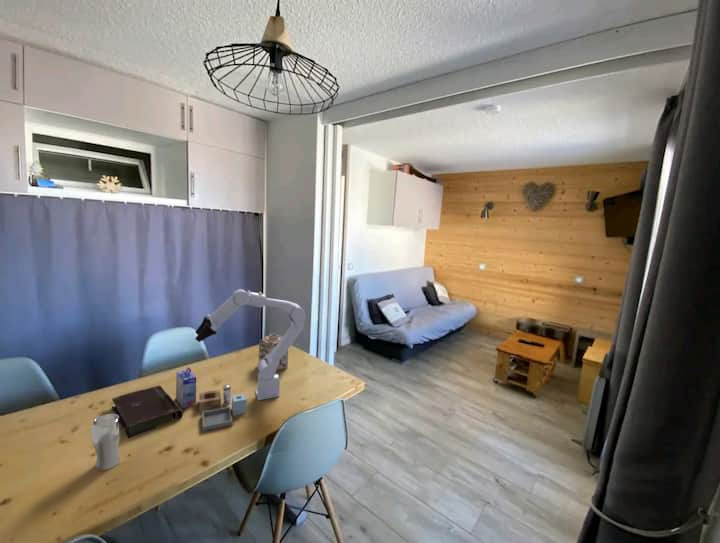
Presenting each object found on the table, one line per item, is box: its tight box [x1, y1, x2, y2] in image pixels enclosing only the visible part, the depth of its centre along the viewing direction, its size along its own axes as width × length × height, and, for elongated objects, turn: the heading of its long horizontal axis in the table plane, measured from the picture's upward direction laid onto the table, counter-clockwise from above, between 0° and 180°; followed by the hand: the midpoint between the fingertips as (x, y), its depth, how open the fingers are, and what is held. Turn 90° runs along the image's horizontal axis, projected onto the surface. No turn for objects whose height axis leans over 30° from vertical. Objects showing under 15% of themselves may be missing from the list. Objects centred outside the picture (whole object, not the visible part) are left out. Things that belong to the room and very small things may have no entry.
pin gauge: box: [222, 384, 232, 406], centre depth 137 cm, size 3×3×8 cm
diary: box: [111, 384, 184, 440], centre depth 127 cm, size 19×25×5 cm
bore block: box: [198, 389, 222, 413], centre depth 136 cm, size 8×8×4 cm
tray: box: [201, 406, 233, 433], centre depth 125 cm, size 10×10×2 cm
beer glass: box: [91, 413, 121, 472], centre depth 100 cm, size 7×7×15 cm
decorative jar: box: [258, 333, 289, 371], centre depth 173 cm, size 12×12×18 cm
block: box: [231, 393, 247, 416], centre depth 133 cm, size 5×5×6 cm
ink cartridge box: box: [175, 366, 197, 409], centre depth 136 cm, size 10×6×14 cm, turn 45°
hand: (197, 337), depth 129 cm, fingers open, 7 cm apart
